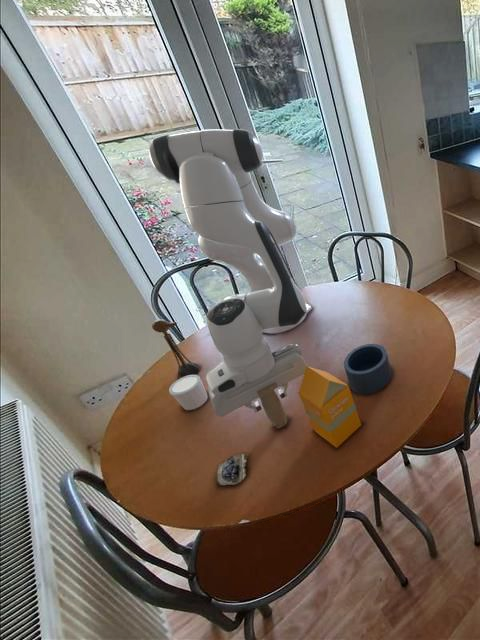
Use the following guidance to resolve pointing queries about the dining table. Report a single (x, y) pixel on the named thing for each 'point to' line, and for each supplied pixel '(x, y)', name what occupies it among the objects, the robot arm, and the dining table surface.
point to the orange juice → (329, 406)
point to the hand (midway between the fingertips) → (271, 402)
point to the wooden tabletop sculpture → (185, 367)
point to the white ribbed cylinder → (189, 392)
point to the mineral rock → (232, 470)
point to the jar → (367, 368)
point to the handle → (273, 406)
